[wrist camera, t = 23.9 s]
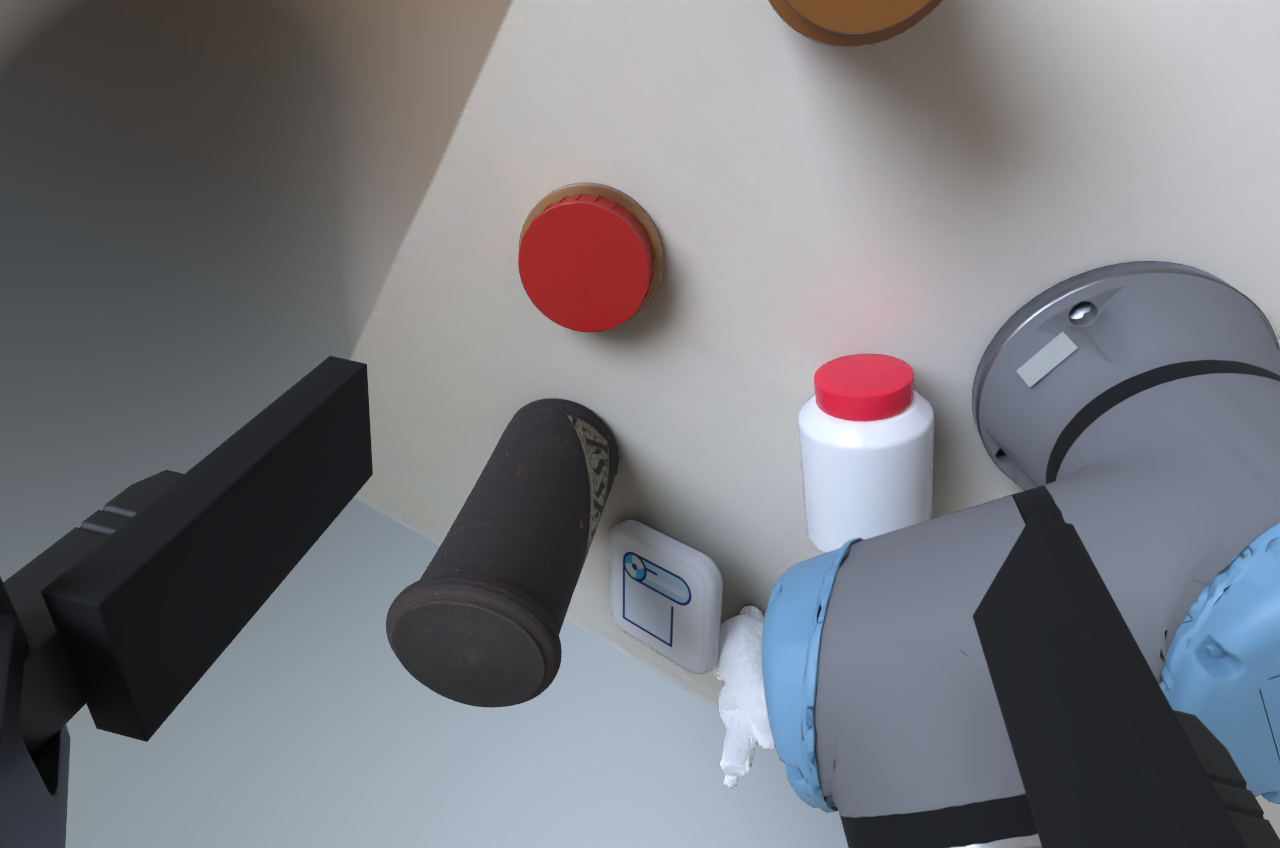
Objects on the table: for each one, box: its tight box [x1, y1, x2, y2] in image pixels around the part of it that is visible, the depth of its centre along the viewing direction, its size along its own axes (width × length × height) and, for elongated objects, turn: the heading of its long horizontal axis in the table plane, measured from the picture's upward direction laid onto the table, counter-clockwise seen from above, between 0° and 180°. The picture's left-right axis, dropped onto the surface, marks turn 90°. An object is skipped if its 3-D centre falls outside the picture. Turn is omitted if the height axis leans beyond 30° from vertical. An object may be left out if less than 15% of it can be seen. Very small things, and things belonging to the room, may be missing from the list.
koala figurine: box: [712, 606, 775, 788], centre depth 53 cm, size 8×7×12 cm
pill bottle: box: [798, 354, 934, 553], centre depth 44 cm, size 8×8×11 cm
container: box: [386, 399, 619, 707], centre depth 44 cm, size 9×9×20 cm
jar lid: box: [518, 193, 655, 332], centre depth 43 cm, size 8×8×2 cm
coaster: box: [519, 183, 664, 323], centre depth 44 cm, size 9×9×1 cm
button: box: [610, 520, 723, 674], centre depth 53 cm, size 10×2×10 cm
